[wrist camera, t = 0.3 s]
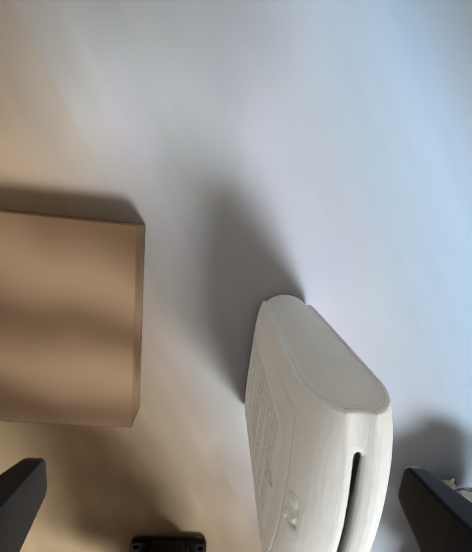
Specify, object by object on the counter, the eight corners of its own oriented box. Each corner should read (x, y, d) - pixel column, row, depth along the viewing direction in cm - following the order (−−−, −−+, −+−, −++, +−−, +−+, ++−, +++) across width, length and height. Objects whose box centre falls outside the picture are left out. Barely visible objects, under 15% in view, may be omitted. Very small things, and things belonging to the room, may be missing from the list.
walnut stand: (139, 408, 22) (131, 427, 20) (-27, 398, 21) (-52, 418, 19) (145, 224, 19) (136, 226, 17) (-50, 204, 18) (-83, 203, 16)
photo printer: (292, 418, 23) (372, 652, 11) (239, 414, 22) (260, 652, 10) (315, 296, 20) (451, 420, 8) (257, 290, 20) (310, 410, 8)
